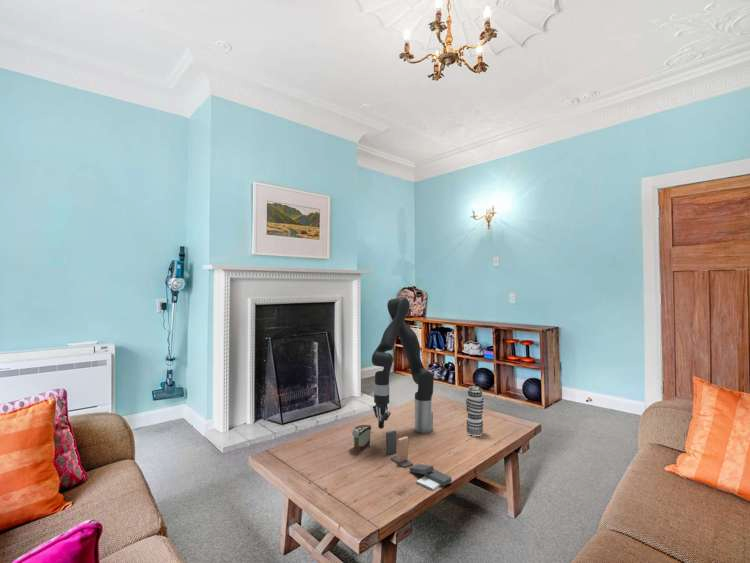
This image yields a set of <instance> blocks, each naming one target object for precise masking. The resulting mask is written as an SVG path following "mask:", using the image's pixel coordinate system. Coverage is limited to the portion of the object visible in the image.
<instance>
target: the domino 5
mask: <svg viewBox="0 0 750 563" xmlns="http://www.w3.org/2000/svg"><path fill="white" fill-rule="evenodd" d="M423 475H424V476H425V477H427V478H429V479H431V480H433V481H435V482H437V483H439V484H441V486H443V487H444V486H446V485H448V484H450V483H452V481H453V480H452V479H453V478H452V476H450V475H447V474H446V473H443V472H442V471H439V470H437V469H434V470H433V471H431V472H429V473H427V474H423ZM424 476H423V477H424Z"/></svg>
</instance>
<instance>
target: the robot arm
mask: <svg viewBox="0 0 750 563" xmlns="http://www.w3.org/2000/svg"><path fill="white" fill-rule="evenodd" d="M386 306H387V310H388V314H389V316H390V318H391V320H392V321H390V323H389V324H388V326H387V327H386V328H385V330H384V332H383V334H382V336H381V339H380V340H381V341H380V343H379V345H377V348H376V349H375V350H374V352H373V354H372V355H371V363H372V365H374V366H376V367H381V368H383V370H378V371H376V372H375V373H374V387H373V389H374V390H373V403H374V404H375V405H372V410H373V412H374V416H375V418H376V419H377V421H378V428H379V429H380V430H382V429H384V428H385V421H388V420H389V417H390V416H391V412H390V411H389V410H388V408H389V407H388V404H389V403H390V374H391V371H392V370H391V369H392V366H393V362H394V357H393V354H391V353H390V352H389V351H392V350H393V349H394V346H395V344H396V340H397V337H398V336H399V340H400V343H401V345H402V349H403V351H404V354H405V357H406V360H407V362H408V365H409V367H410V374H411V377H412V380H413V382H414V383H415V384H416V385H417V392H415V394H414V431H415V432H416V433H421V434H428V433H431V432H432V431H433V430H434V412H433V411H432V409H433V407H432V406H433V405H432V404H433V402H432V397H433V394H434V384H435V383H434V381H435V380H434V375H433V373H432V372H431V371H430V370H427V369H426V368H425V367H424V364H423V362H422V359H421V345H420V342H419V338H418V336H417V334H416V332H415V331H414V330H413V328H411V327H410V326H409V324H407V323H406V321H405V320H406V317H407V316H408V314H409V312H410V307H411V304H410V301H409V299H408V298H407V297H405V296H404V297H396V298H391V299H389V300H388V301H387V305H386Z"/></svg>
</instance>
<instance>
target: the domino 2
mask: <svg viewBox="0 0 750 563" xmlns="http://www.w3.org/2000/svg"><path fill="white" fill-rule="evenodd" d="M396 456H397V461H398V462H402V461H405V460H409V437H408V436H407V435H406V436H403V437H399V438H397V443H396Z"/></svg>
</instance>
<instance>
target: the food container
mask: <svg viewBox="0 0 750 563" xmlns="http://www.w3.org/2000/svg"><path fill="white" fill-rule="evenodd" d="M371 431H372V425H371V424H360V425H356V426H354V427H353V429H352V432H351V433H352V434H351V435H352V436H353V443H354V446H353V447H354V451H355V453H357V454H362V452H364V451H366V450H367V449H368V448H369V447H371V433H372V432H371Z"/></svg>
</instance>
